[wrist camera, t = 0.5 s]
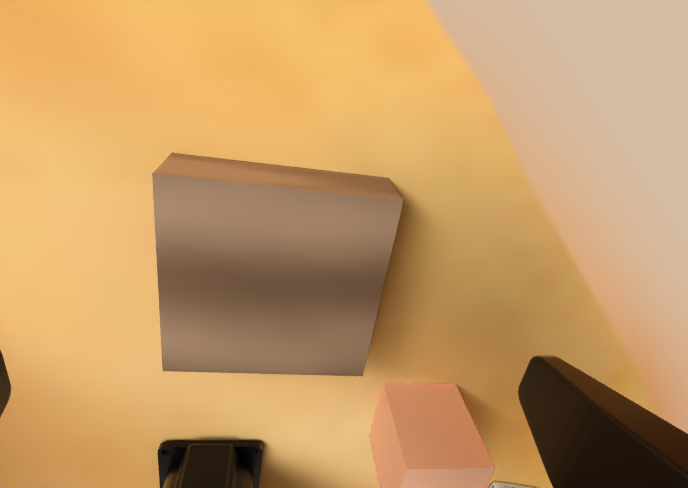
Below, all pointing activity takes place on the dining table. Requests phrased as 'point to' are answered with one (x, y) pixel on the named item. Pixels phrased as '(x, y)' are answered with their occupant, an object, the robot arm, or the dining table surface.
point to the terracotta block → (427, 439)
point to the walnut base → (269, 265)
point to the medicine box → (507, 485)
